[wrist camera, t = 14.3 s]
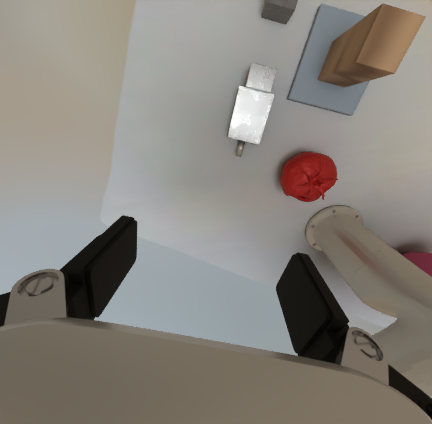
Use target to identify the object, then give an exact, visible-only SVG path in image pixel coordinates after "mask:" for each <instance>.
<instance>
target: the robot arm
mask: <svg viewBox="0 0 432 424" xmlns="http://www.w3.org/2000/svg"><path fill="white" fill-rule="evenodd" d="M305 234H306V239H307V241H308V242H309V244H310V245H311V246H312V247H313V248H315V249H317V250H319V251H323V252H324V253H325V254H326V256H327V257H328V258H329V260H330V261H331V262H332V264H333V265H334V266H335V268H336V269H337V270H338V272H339V273H340V274H341V275H342V277H343V278H344V279H345V281H346V282H347V283H348V285H349V286H350V287H351V289H352V290H353V291H354V293H355V294H356V295H357V296H358V298H359V299H360V300H361V301H362V302H363V303H365V304H366V305H367V306H369V307H370V308H372V309H374V310H376V311H379V312H381V313H383V314H386V315H389V316H392V317H395V318H397V320H396V321H395V322H394V323H392V324H391V325H389V326H388V327H387V328H385V329H383V330H381V331H380V332H378V333H376V334H374V335H372V336H371V335H370V334H369V333H367V332H366V331H364V330H362V329H360V328H357V327H351V328H349V326H348V324H347V323H348V322H349V320H348V318H347V317H346V315H345V313H344V312H343V310H342V309H341V307H340V305H339V304H338V302H337V300H336V299H335V297H334V296H333V294H332V292H331V291H330V289H329V288H328V286H327V284H326V283H325V281H324V279H323V278H322V276H321V275H320V273H319V271H318V270H317V268H316V267H315V265H314V263H313V262H312V260H311V259H310V257H309V256H308V255H307V254H302V253H296V254H294V255H293V256H292V257H291V259H290V261H289V263H288V265H287V267H286V268H285V270H284V272H283V274H282V276H281V278H280V280H279V281H278V283H277V286H276V291H277V295H278V298H279V301H280V305H281V308H282V311H283V315H284V318H285V322H286V325H287V328H288V332H289V335H290V338H291V342H292V345H293V348H294V351H295V352H296V353H298V356H295V355H290V354H284V353H279V352H273V351H267V350H262V349H257V348H252V347H246V346H241V345H235V344H230V343H224V342H219V341H212V340H208V339H202V338H195V337H191V336H185V335H179V334H173V333H167V332H162V331H156V330H151V329H145V328H139V327H133V326H127V325H121V324H114V323H108V322H102V321H95V320H94V318H95V317H99V316H100V314H101V313H102V312H103V310H104V309H105V307H106V306H107V304H108V302H109V301H110V299H111V298H112V296H113V295H114V293H115V292H116V290H117V289H118V287H119V286H120V284H121V282H122V281H123V280H124V278H125V276H126V275H127V273H128V272H129V270H130V269H131V267H132V266H133V264H134V262H135V260H136V255H137V254H136V253H137V221H135V220H134V218H133V217H128V216H121V217H120V218H119V219H118V220H117V221H116V222H115V223H114V224H112V225H111V226H110V227H109V228H108V229H107V230H106V231H105V232H104V233H103V234H101V235H99V236H98V237H96V238H95V239H94V240H93V241H92V242H91V243H90V244H88V245H87V246H86V247H85V248H84V249H83V250H82V251H81V252H80V253H78V254H77V255H76V256H75V257H74V258H73V259H72V260H70V261H69V262H68V263H67V264H66V265H65V266H64V267H63V268H62V269H60V270H55V269H46V270H39V271H36V272H33V273H31V274H28V275H26V276H24V277H23V278H22V279H20V280H19V281H18V282H17V283H16V284H15V285H14V286H13V288H12V290H11V292H9V293H6V294H2V295H0V424H432V277H431V276H430V275H428V274H427V273H425V272H424V271H423V270H421V269H420V268H419V267H417V266H416V265H415V264H413V263H412V262H411V261H409V260H408V259H406V258H405V257H404V256H402V255H401V254H400V253H399V252H397V251H396V250H395V249H393V248H392V247H391V246H389V245H388V244H387V243H385V242H384V241H383V240H381V239H380V238H379V237H377V236H376V235H375V234H373V233H372V232H371V231H369V230H368V229H367V228H365V227H364V226H363V220H362V217H361V216H360V214H359V213H358V212H357V211H355V210H354V209H352V208H350V207H347V206H332V207H328V208H326V209H323V210H321V211H320V212H318V213H317V214H316V215H314V216H313V217H312V219H311V220H310V221H309V223H308V224H307V227H306V232H305Z"/></svg>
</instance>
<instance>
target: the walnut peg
mask: <svg viewBox="0 0 432 424" xmlns="http://www.w3.org/2000/svg"><path fill="white" fill-rule="evenodd" d="M425 17H426V16H422V15H419V14H416V13H413V12H409V11H406V10H403V9H399V8H396V7H393V6H389V5H386V4H381V5H380V6H379V7H378V8H376V9H375V10H374V11H372V12H371V13H370V14H368V15H367V16H366V17H364V18H363V19H362V20H360V21H359V22H358V23H356V24H355V25H354V26H352V27H351V28H350V29H348V30H347V31H346V32H344V33H343V34H342V35H340V36H339V37H338V38H336V39H335V40H334V41H332V44H331V46H330V49H329V52H328V54H327V57H326V59H325V62H324V64H323V67H322V69H321V72H320V74H319V77H318V79H317V80H319V81H323V82H326V83H330V84H334V85H337V86H341V87H349V86H352V85H356V84H359V83H363V82H366V81H370V80H373V79H376V78H380V77H383V76H387V75H390V74H394V73H395V72H396V70H397V68H398V66H399V65H400V63H401V61H402V59H403V57H404V55H405V54H406V52H407V50H408V48H409V46H410V45H411V43H412V41H413V39H414V37H415V35H416V34H417V32H418V30H419V28H420V26H421V24H422V23H423V21H424V19H425Z"/></svg>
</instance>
